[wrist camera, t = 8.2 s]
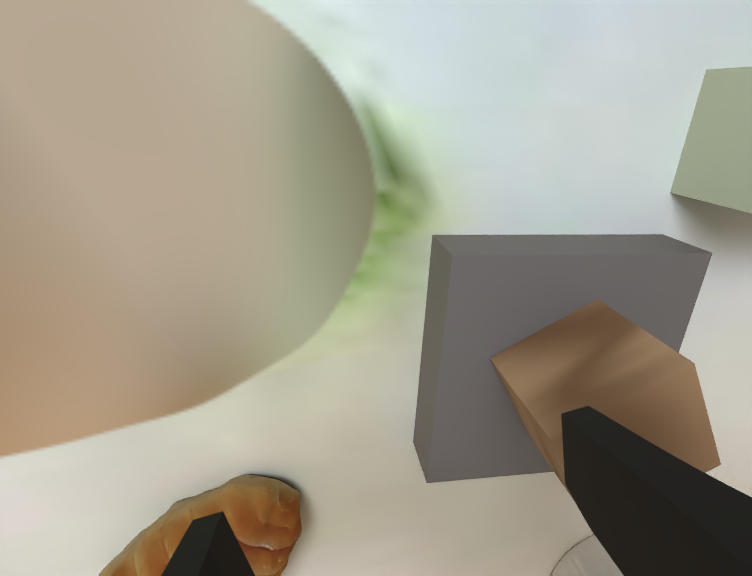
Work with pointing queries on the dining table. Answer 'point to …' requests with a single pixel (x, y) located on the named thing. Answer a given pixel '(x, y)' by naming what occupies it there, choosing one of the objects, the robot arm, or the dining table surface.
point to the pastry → (245, 515)
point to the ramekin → (587, 561)
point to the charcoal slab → (527, 330)
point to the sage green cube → (719, 142)
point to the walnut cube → (607, 385)
